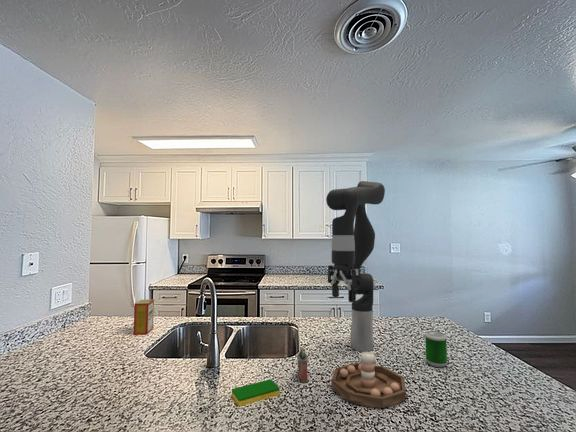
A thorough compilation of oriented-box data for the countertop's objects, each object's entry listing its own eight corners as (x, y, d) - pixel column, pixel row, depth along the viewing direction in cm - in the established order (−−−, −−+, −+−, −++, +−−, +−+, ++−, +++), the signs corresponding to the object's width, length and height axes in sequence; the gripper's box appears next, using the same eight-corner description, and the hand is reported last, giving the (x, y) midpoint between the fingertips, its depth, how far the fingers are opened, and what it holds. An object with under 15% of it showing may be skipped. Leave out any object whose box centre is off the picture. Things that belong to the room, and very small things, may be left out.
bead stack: (358, 383, 101) (358, 353, 102) (368, 380, 103) (368, 350, 104) (367, 389, 97) (367, 357, 98) (377, 386, 99) (377, 355, 100)
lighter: (296, 372, 111) (296, 345, 112) (305, 372, 111) (305, 344, 112) (299, 383, 103) (299, 353, 103) (309, 383, 103) (309, 353, 104)
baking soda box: (147, 334, 152) (147, 302, 153) (133, 335, 152) (134, 302, 152) (153, 328, 162) (154, 298, 163) (140, 329, 161) (141, 298, 162)
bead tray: (320, 380, 105) (320, 371, 105) (370, 367, 116) (370, 359, 116) (365, 416, 85) (365, 405, 85) (421, 396, 95) (421, 386, 95)
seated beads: (336, 375, 107) (336, 366, 107) (360, 369, 112) (360, 360, 112) (377, 404, 89) (377, 394, 89) (404, 395, 94) (404, 385, 94)
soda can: (449, 369, 114) (448, 337, 115) (428, 367, 116) (427, 335, 117) (443, 361, 122) (442, 330, 122) (423, 359, 123) (423, 329, 124)
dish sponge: (280, 395, 96) (280, 388, 96) (239, 407, 89) (239, 399, 89) (270, 386, 102) (270, 378, 102) (231, 396, 95) (231, 388, 96)
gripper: (366, 250, 94) (367, 302, 93) (339, 248, 106) (339, 294, 105) (347, 250, 90) (348, 305, 89) (321, 248, 103) (321, 296, 102)
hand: (343, 299), depth 97 cm, fingers open, 8 cm apart
